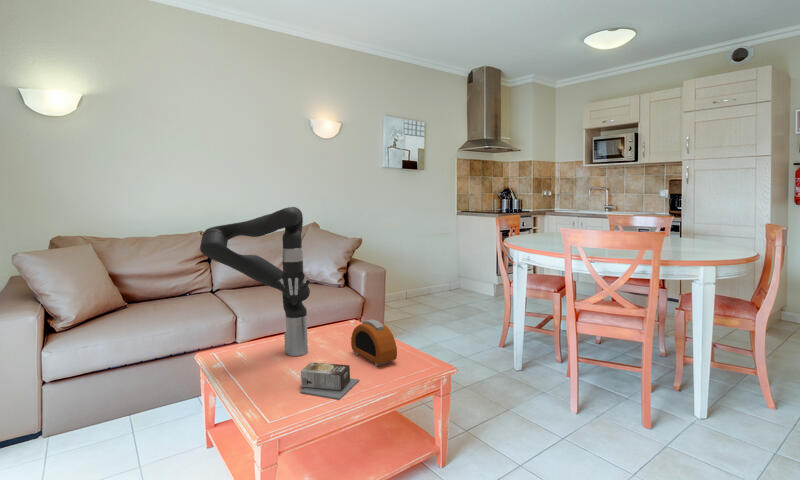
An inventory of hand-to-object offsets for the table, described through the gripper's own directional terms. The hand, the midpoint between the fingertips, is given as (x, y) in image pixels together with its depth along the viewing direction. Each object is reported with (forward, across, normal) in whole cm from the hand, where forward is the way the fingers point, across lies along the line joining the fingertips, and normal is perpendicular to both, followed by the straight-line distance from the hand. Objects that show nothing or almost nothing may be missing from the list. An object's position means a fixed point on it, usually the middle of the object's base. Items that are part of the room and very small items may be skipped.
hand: (294, 304), depth 167 cm
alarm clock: (+29, +32, +13) cm, 45 cm away
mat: (+29, +13, -12) cm, 34 cm away
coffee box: (+25, +4, -8) cm, 27 cm away
